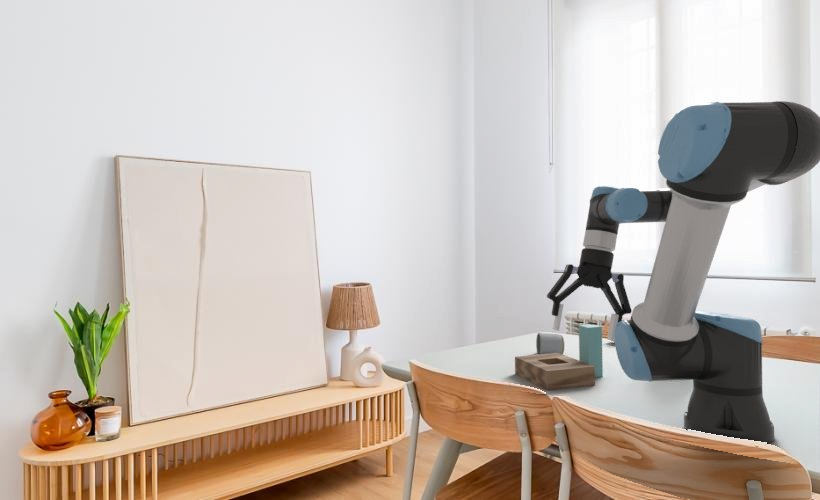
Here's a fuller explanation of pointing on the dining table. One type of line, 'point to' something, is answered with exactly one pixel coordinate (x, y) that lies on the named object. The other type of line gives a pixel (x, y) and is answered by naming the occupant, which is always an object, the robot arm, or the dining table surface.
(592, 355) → the teal peg
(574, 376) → the socket block
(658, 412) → the dining table surface
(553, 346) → the gray can
